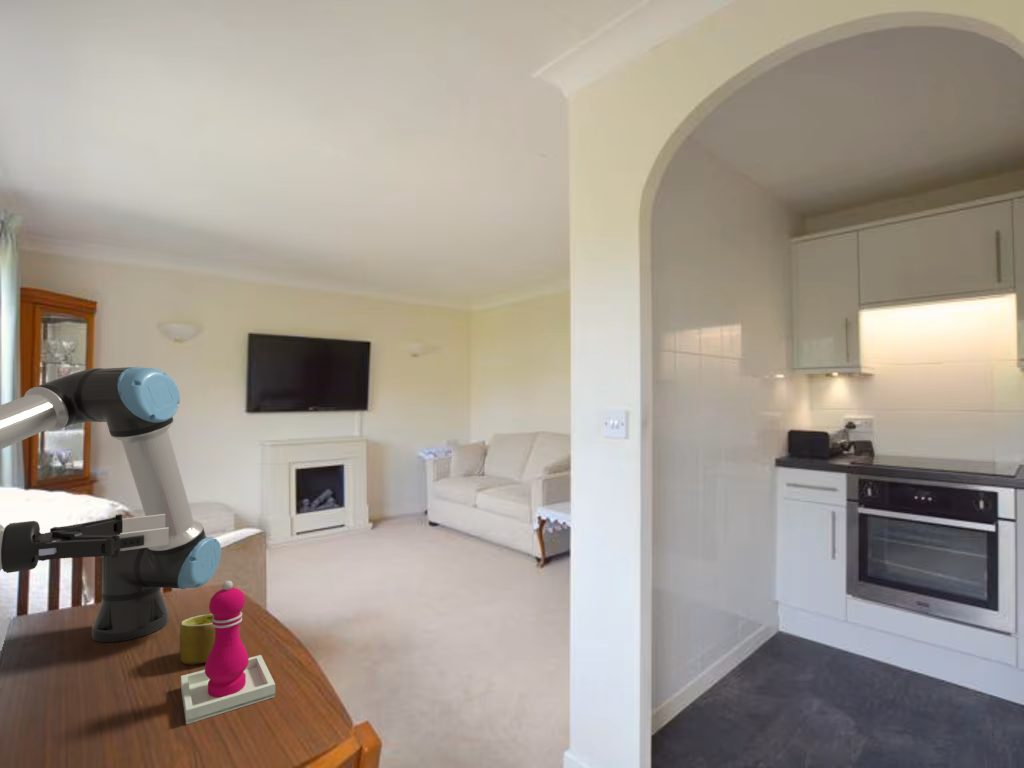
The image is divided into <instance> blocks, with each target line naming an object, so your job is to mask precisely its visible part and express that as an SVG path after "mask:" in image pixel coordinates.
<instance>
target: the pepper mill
mask: <svg viewBox="0 0 1024 768" xmlns="http://www.w3.org/2000/svg"><path fill="white" fill-rule="evenodd" d="M233 586H234V584H233V582H232V581H231V580H225V581H224V582H223V583H222V586H221V587H222V589H220V590H219V591H216V592H215V593H214V594H213V595H212V597H211V598H210V600H209V605H208V607H209V608H208V609H209V612H210V614H213V615H214V617H213V618H212V621H213V623H212V626H213V627H215V641H214V645H213V647H212V650H211V652H210V654H209V656H208V658H207V661H206V662H205V666H204V670H205V674H206V676H207V677H208V678H209V679H210V680H209V682H208V694H209V695H210V696H213V697H224V696H228V695H231V694H234V693H236V692H238V691H240V690H241V689H242V688H243V687H244V686H245V683H246V675H245V673H244V670H245V669H246V667H247V665H248V662H249V661H248V658H249V654H248V651H247V648H246V647H245V645H244V643H243V641H242V639H241V636H240V624H241V622H242V621H243V612H242V610H243V608H244V607H245V605H246V597H245V596H246V595H245V594H244V592H243V590H241V589H239V588H237V587H233Z"/></svg>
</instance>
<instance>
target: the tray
mask: <svg viewBox="0 0 1024 768" xmlns="http://www.w3.org/2000/svg"><path fill="white" fill-rule="evenodd" d="M248 661H249V662H248V665H247V667H246V669H245V670H244V673H245V675H246V683H245V686H244V687H243V688H242V689H241V690H240V691H238V692H236V693H234V694H231V695H228V696H224V697H213V696H210V695H209V694H208V682H209V680H210V679H209V678H208V677H207V676H206V674H205V669H202V670H199V671H195V672H191V673H187V674H184V675H180V691H181V693H180V694H181V699H182V704H183V712H184V719H185V725H189V724H193V723H195V722H199V721H201V720H205V719H208V718H211V717H215V716H218V715H221V714H224V713H225V714H226V713H227V712H230V711H234V710H237V709H241V708H243V707H246V706H249V705H253V704H256V703H261V702H262V701H263V702H264V701H265V700H269V699H272V698H275V697H276V683H275V680H274V678H273V676H272V674H271V673H270V670H269V668H268V667H267V664H266V662H265V660H264V658H263V656H262V654H259V655H255V656H251V657H248Z"/></svg>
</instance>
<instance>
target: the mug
mask: <svg viewBox="0 0 1024 768" xmlns="http://www.w3.org/2000/svg"><path fill="white" fill-rule="evenodd" d="M213 617H214V615H213V614H212V613H209V614H202V615H200V614H199V615H196V616H191V617H188V618H186V619H183V620H182V621H181V623H180V626H179V657H180V661H181V662H182V663H183V664H184V665H197V664H203V663H206V661H207V658H208V656H209V654H210V652H211V650H212V647H213V645H214V641H215V627H213V626H212V623H213V621H212V618H213Z"/></svg>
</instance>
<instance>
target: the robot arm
mask: <svg viewBox="0 0 1024 768" xmlns="http://www.w3.org/2000/svg"><path fill="white" fill-rule="evenodd" d="M180 397H181V395H180V390H179V388H178V385H177V384H176V382H175V380H173V378H172V377H171V376H170V375H169V374H167V373H166V372H164V371H162V370H160V369H158V368H155V367H153V368H152V367H143V366H132V367H129V366H128V367H108V368H99V367H98V368H97V367H96V368H90V369H85V370H80V371H77V372H74V373H71V374H68V375H65V376H62V377H59V378H56V379H53V380H51V381H48V382H46V383H43V384H40V385H36V386H34V387H31V388H29V389H28V390H27V391H26V392H25V394H24V395H23V396H22V397H20V398H16V399H14V400H11V401H8V402H6V403H3V404H0V451H1V450H2V449H6V448H8V447H10V446H12V445H14V444H16V443H19V442H22V441H25V440H26V439H29V438H30V437H34V436H35V435H37V434H40V433H42V432H44V431H51V432H52V431H53V432H54V431H55V432H56V431H60V430H62V429H64V428H66V427H69V426H73V425H77V424H83V423H97V422H98V423H106V425H107V430H108V431H109V435H110V436H111V438H113V439H116V440H119V441H121V443H122V446H123V449H124V452H125V456H126V460H127V462H128V466H129V468H130V472H131V475H132V478H133V481H134V484H135V487H136V490H137V493H138V497H139V500H140V504H141V506H142V510H143V513H144V516H143V515H142V516H135V517H127V518H123V514H115V517H110V518H105V519H100V520H99V519H98V520H94V521H88V522H83V523H77V524H70V525H65V526H53V527H51V528H50V529H49V532H45V533H44V532H43V533H41V531H40V529H41V527H40V524H39V522H38V521H36V520H31V521H30V520H29V521H20V522H11V523H8V524H7V525H6V526H5V527H4V526H3V525H2V524H0V571H2V572H4V573H6V574H11V573H16V572H22V571H23V572H24V571H30V570H31V571H32V570H34V569H35V568H36V567H37V566H38V562H39V561H40V562H41V561H42V562H43V561H49V560H58V559H73V558H74V559H75V558H76V559H78V558H93V557H94V558H95V557H97V558H98V557H101V603H100V605H99V608H98V611H97V613H96V616H95V619H94V621H93V623H92V627H91V638H92V639H93V640H94V641H96V642H101V643H114V642H123V641H127V640H132V639H137V638H141V637H144V636H147V635H150V634H152V633H155V632H156V631H159V630H161V629H162V628H164V627H165V626H166V625H168V623H169V620H170V612H169V608H168V606H167V604H166V601H165V599H164V596H163V594H162V589H161V588H163V589H164V588H166V589H167V588H168V589H181V590H186V589H197V588H200V587H203V586H204V585H206V584H207V583H208V582H209V581H210V580H211V579H212V578H213V576H214V574H215V573H216V572H217V569H218V567H219V565H220V562H221V558H222V547H221V543H220V542H219V540H218V539H217V538H215V537H212V536H207V535H206V533H205V532H206V531H205V530H204V525H203V523H201V522H200V521H197V520H195V519H194V517H193V514H192V511H191V510H192V509H191V507H190V503H189V499H188V496H187V493H186V489H185V485H184V483H183V478H182V475H181V471H180V468H179V465H178V461H177V458H176V454H175V451H174V447H173V443H172V439H171V437H170V433H169V429H170V427H171V426H172V424H174V419H173V418H174V416H175V415H176V414H177V412H178V411H179V406H178V404H180V401H181V400H180V399H181V398H180Z"/></svg>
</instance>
